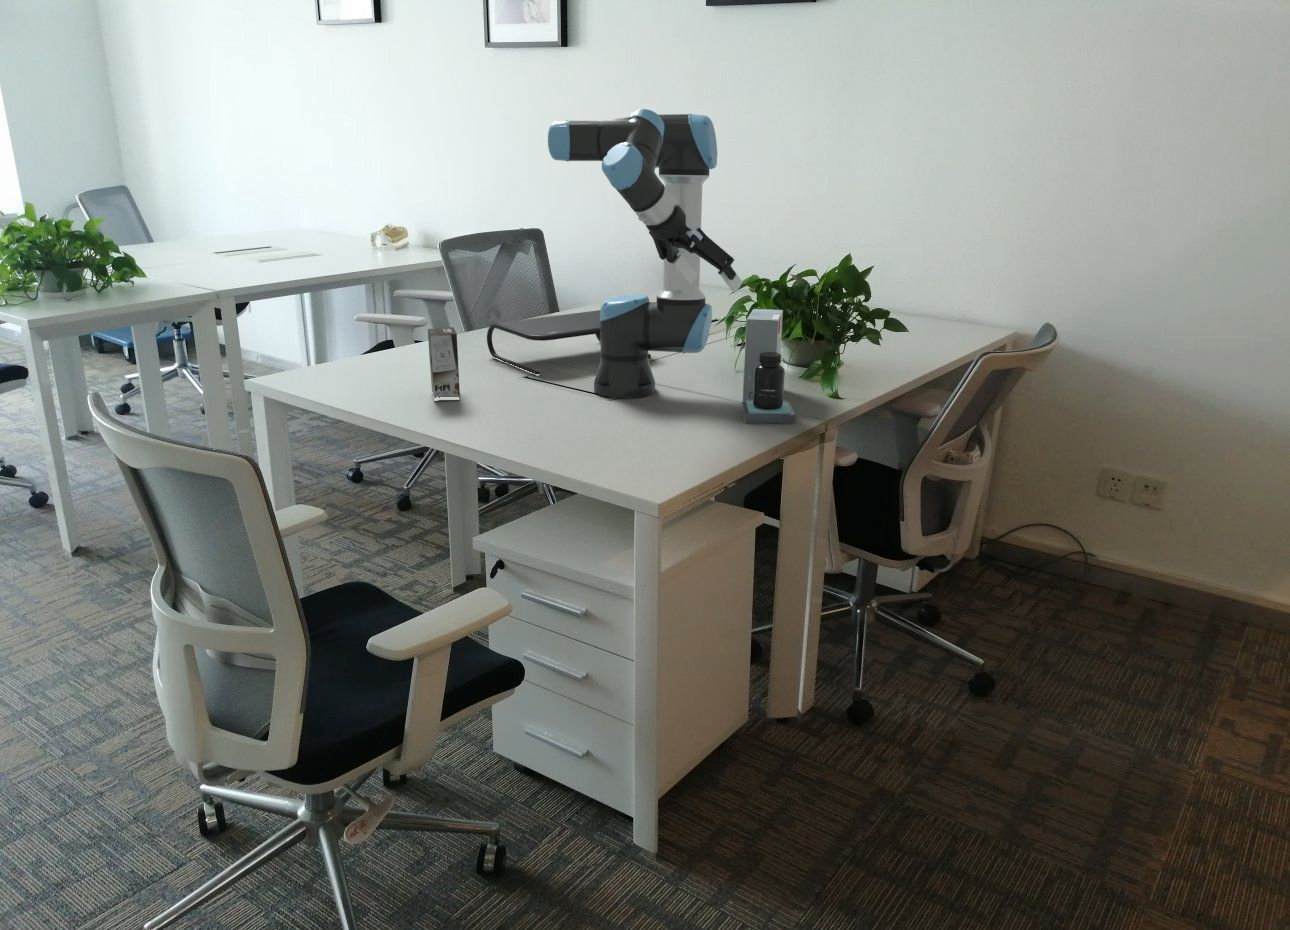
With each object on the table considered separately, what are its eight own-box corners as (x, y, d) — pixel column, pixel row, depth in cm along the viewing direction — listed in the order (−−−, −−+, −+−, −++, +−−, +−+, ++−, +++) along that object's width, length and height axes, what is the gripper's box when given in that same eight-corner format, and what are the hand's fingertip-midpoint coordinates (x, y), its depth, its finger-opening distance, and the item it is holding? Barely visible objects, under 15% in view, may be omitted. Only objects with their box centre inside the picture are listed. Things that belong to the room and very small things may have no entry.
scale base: (745, 423, 227) (745, 414, 227) (741, 409, 238) (741, 401, 237) (795, 423, 227) (795, 415, 227) (788, 410, 238) (789, 401, 237)
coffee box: (461, 400, 245) (457, 333, 240) (433, 402, 243) (429, 335, 238) (458, 391, 253) (454, 326, 248) (431, 392, 252) (427, 327, 247)
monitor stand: (536, 377, 267) (535, 337, 264) (486, 358, 289) (484, 320, 285) (651, 359, 288) (651, 321, 284) (596, 342, 309) (596, 306, 306)
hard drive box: (774, 404, 242) (778, 320, 236) (742, 402, 244) (744, 319, 237) (779, 388, 257) (783, 308, 250) (749, 386, 258) (751, 307, 252)
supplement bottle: (763, 411, 227) (765, 358, 223) (746, 404, 233) (748, 352, 229) (789, 407, 230) (791, 355, 226) (772, 400, 236) (774, 349, 232)
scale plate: (749, 416, 228) (749, 411, 227) (745, 405, 237) (745, 400, 236) (790, 416, 228) (791, 411, 227) (785, 405, 236) (786, 400, 236)
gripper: (610, 222, 207) (665, 289, 221) (692, 233, 189) (748, 305, 203) (630, 194, 208) (684, 262, 222) (714, 202, 190) (768, 276, 204)
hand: (715, 283), depth 212 cm, fingers open, 13 cm apart
